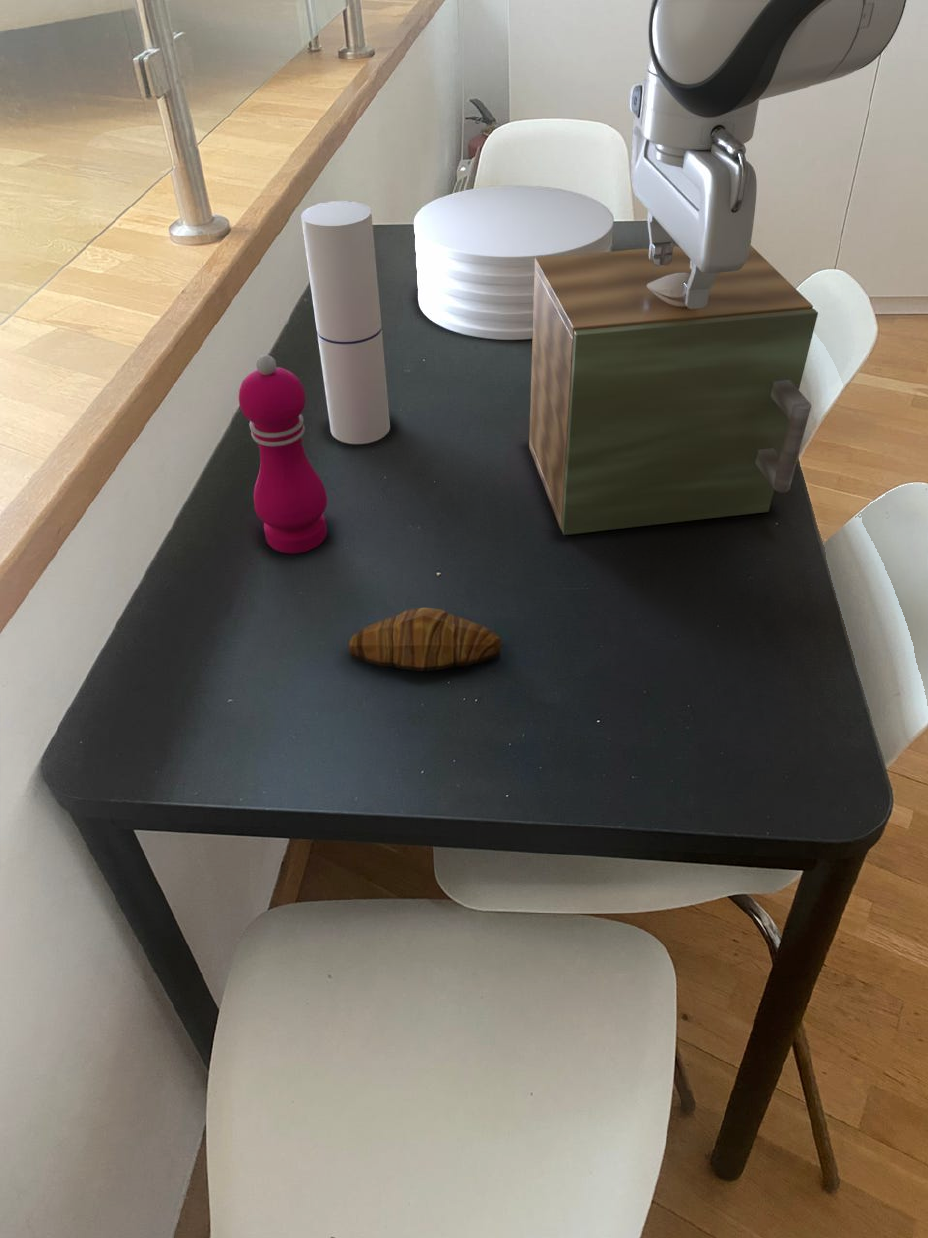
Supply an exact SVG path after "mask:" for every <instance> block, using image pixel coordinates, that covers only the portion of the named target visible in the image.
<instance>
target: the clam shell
mask: <svg viewBox="0 0 928 1238" xmlns="http://www.w3.org/2000/svg"><path fill="white" fill-rule="evenodd" d="M690 275H691V274H690V273H675V274H671V275H668V276H665V277H662V278H660V279H657V280H655V281H653V282H650V283H648V284H647V287H648V288H649V289H650V290H651V291H652V292H653V293H654V294H655V295H656V296H658V297H659V298H660V299H661V300H663V301H665V302H666V303H668V304H671V305H674V306H676V307H687V306H686V305H685V303H684V302H683V301H682V294H683V285H684V282H688V281H689V278H690Z"/></svg>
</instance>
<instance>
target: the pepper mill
mask: <svg viewBox="0 0 928 1238" xmlns="http://www.w3.org/2000/svg"><path fill="white" fill-rule="evenodd" d="M255 367H256V369H255V370H254V371H252V372H250V373H249V374H248V375H247V376H246V377H244V379H243V380H242V382H241V383H240V385H239V389H238V403H239V407H240V411H241V412H242V414H243V415H244V417H245V418H246V419H247V420H248V421H250V422H249V424H248V425H249V429H250V431H251V432H250V435H251V438H252V440H253V441H254V442H255V443H257V446H258V449H259V457H260V458H259V459H260V465H259V471H258V475H257V477H256V481H255V485H254V488H253V489H254V490H253V504H254V505H253V506H254V511H255V514H256V515H257V518H259V519H260V520H261V521H262V522H263V530H264V535H265V540H266V543H267V544H268V545H269V546H270V547H271V548H272V549H273V550H274V551H277V552H280V553H283V554H301V553H306V552H309V551H311V550H314V549H315V548H317V547H318V546H320V545H322V543H323V542H324V541H325V539H326V537H327V533H328V530H327V522H326V517H325V515H324V512H325V511H326V508H327V505H328V497H327V492H326V489H325V485H324V484H323V481H322V479H321V477H320V475H319V474H318V472H317V471H316V470H315V469H314V467H313V466H312V464H311V462H310V460H309V459H308V457H307V455H306V453H305V449H304V445H303V440H302V437H303V435H304V434H305V432H306V431H305V430H306V429H305V428H306V427H305V425H304V416H303V415H302V412H303V411H304V409H305V405H306V393H305V389H304V386H303V385H302V382H301V381H300V378H298V377H297V376H296V375H295V374H294V373H293V372H291V371H290V370H287V369H285V368H283V367H278V366H277V361H276V359H275V358H274V357H272V356H271V355H269V354H263V355H260V356H259V357H258V358H257V359H256V361H255Z"/></svg>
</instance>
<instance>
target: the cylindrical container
mask: <svg viewBox="0 0 928 1238" xmlns="http://www.w3.org/2000/svg"><path fill="white" fill-rule="evenodd" d="M372 215H373V214H372V209H371V207H369V206H368V205H367V204H364V203H361V202H357V201H349V200H348V201H347V200H337V201H336V200H335V201H334V200H333V201H328V202H327V201H326V202H321V203H316V204H314V205H312V206H311V205H310V206H309V207H307V208H306V209H304V210H303V211H302V212H301V213H300V218H301V225H302V226H301V227H302V233H303V240H304V241H303V242H304V247H305V255H306V262H307V269H308V277H309V284H310V290H311V299H312V305H313V311H314V319H315V320H314V321H315V326H316V327H315V328H316V334H317V341H318V349H319V356H320V357H319V358H320V364H321V371H322V378H323V385H324V393H325V400H326V406H327V407H326V408H327V415H328V421H329V429H330V433H331V435H332V437H333V438H334V439H336V440H337V441H339V442H341V443H344V444H349V445H364V444H370V443H374V442H377V441H380V440H381V439H383V438H384V437H385V436H386V435H388V434H389V432H390V430H391V422H390V421H391V420H390V411H389V397H388V388H387V387H388V385H387V375H386V363H385V353H384V351H385V350H384V340H383V328H382V317H381V307H380V306H381V305H380V296H379V295H380V294H379V293H380V292H379V284H378V283H379V282H378V271H377V261H376V248H375V238H374V237H375V236H374V226H373V217H372Z"/></svg>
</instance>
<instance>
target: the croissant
mask: <svg viewBox="0 0 928 1238" xmlns="http://www.w3.org/2000/svg"><path fill="white" fill-rule="evenodd" d="M502 647H503V644H502V642H501V638H500V636H499V634H497V633H495V632H494V631H492V630H491V629H489V628H487V627H486V626H484V625H481V624H479V623H476V622H474V621H472V620H469V619H466V618H463V617H459V616H457V615H456V616H455V615H453V614H451V613H449V612H448V611H446V610H444V609H439V608H432V607H419V608H411V609H406V610H404V611H403V612H401V613H400V614H398V615H396V616H392V617H388V618H385V619H383V620H381V621H377V622H375V623H372V624H370V625H368V626H365V627H364V628H363V629H361V630H360V631H358V632H356V633H355V634H353V635H352V636H351V638H350V640H349V644H348V650H349V654H350V655H351V658H354V659H356V660H359V661H361V662H364V663H367V664H371V665H375V666H378V667H383V668H398V669H402V670H405V671H415V672H422V673H423V672H424V673H425V672H426V673H427V672H433V671H434V672H435V671H441V670H442V671H443V670H446V669H450V668H466V667H469V666H473V665H477V664H481V663H485V662H488V661H490V660H493V659H496V658H498V657H500V653H501V651H502Z"/></svg>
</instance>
